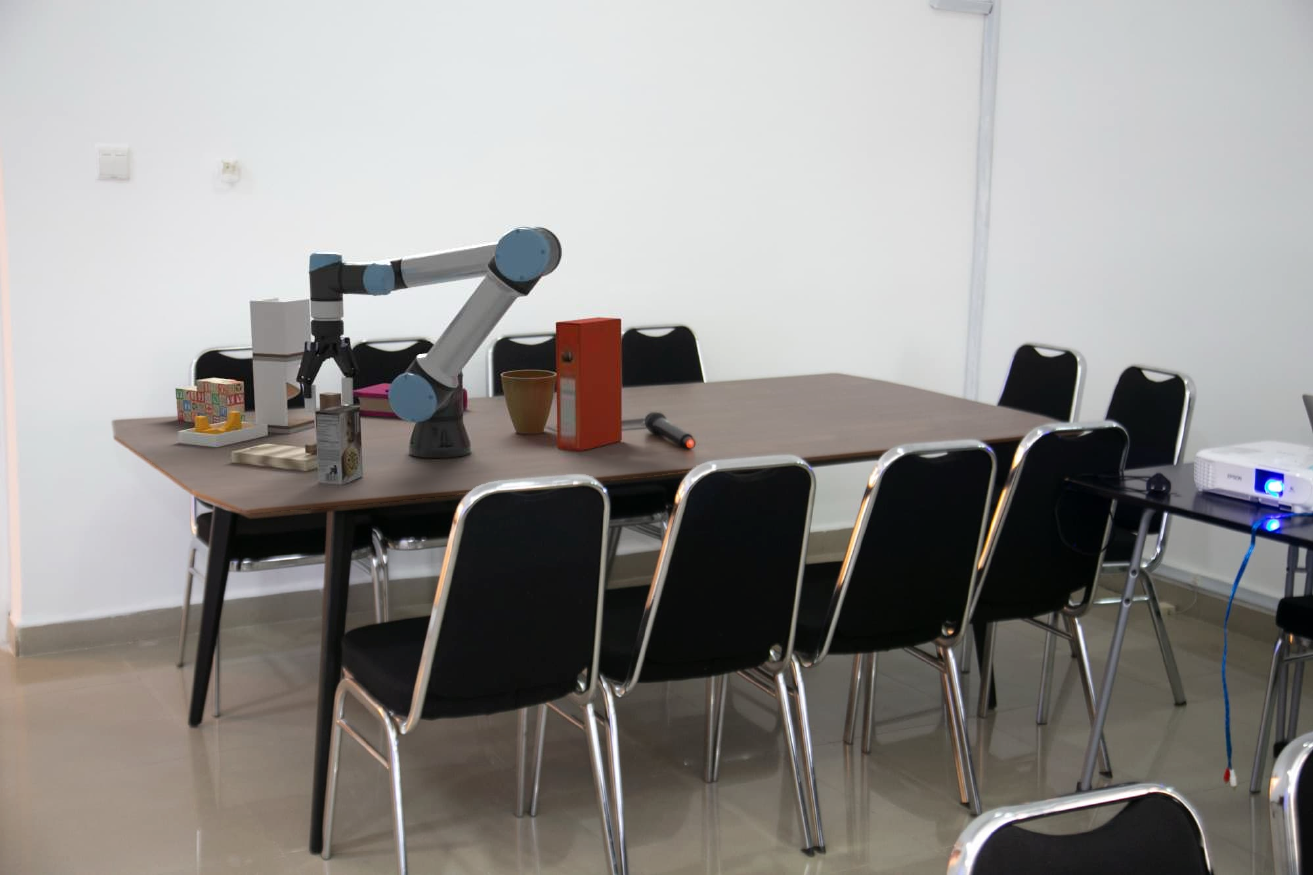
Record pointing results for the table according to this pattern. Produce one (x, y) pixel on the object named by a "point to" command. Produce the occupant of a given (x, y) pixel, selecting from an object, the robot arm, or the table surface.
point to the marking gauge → (325, 402)
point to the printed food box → (339, 444)
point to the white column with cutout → (278, 360)
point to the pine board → (276, 457)
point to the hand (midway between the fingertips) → (329, 408)
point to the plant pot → (529, 398)
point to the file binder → (588, 383)
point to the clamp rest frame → (223, 435)
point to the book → (382, 400)
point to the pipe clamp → (230, 425)
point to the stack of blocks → (210, 400)
